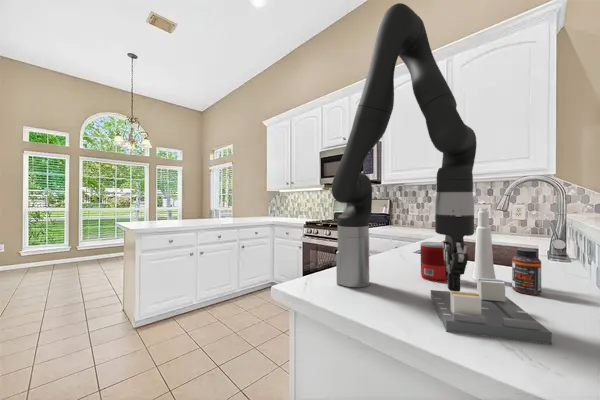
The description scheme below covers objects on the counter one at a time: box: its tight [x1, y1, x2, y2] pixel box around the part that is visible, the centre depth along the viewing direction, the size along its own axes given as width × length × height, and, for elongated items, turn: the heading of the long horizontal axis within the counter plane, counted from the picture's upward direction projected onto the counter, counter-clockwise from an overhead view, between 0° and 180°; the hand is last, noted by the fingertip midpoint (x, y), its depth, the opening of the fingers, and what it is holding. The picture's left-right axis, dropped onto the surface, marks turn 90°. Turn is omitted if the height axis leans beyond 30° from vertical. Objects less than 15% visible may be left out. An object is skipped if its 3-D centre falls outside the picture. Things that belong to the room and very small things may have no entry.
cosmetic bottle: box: [471, 207, 497, 282], centre depth 82 cm, size 6×6×22 cm
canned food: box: [420, 241, 448, 283], centre depth 84 cm, size 8×8×11 cm
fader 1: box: [449, 290, 481, 315], centre depth 52 cm, size 5×3×4 cm, turn 72°
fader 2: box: [476, 278, 506, 302], centre depth 61 cm, size 5×3×4 cm, turn 72°
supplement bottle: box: [511, 247, 542, 296], centre depth 71 cm, size 6×6×11 cm
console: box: [430, 289, 553, 345], centre depth 56 cm, size 16×18×3 cm
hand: (453, 290), depth 59 cm, fingers closed
